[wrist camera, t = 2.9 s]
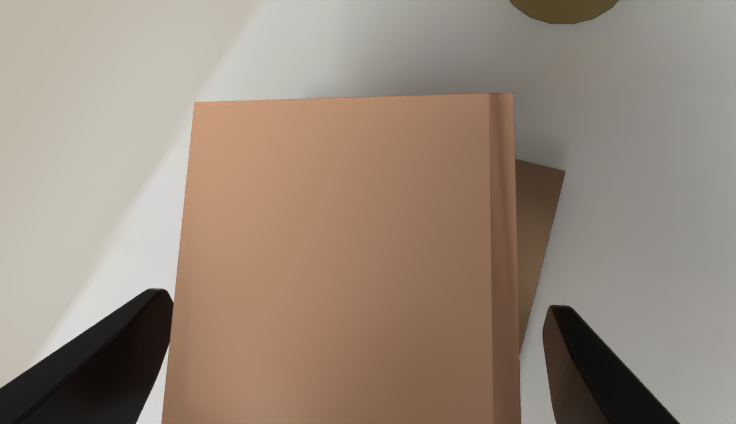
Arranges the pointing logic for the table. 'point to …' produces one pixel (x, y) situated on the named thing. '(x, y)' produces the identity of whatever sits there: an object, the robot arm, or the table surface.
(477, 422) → the tan upright cuboid
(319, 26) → the table surface
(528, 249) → the walnut pad
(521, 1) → the olive pawn game piece
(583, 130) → the table surface
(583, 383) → the robot arm
